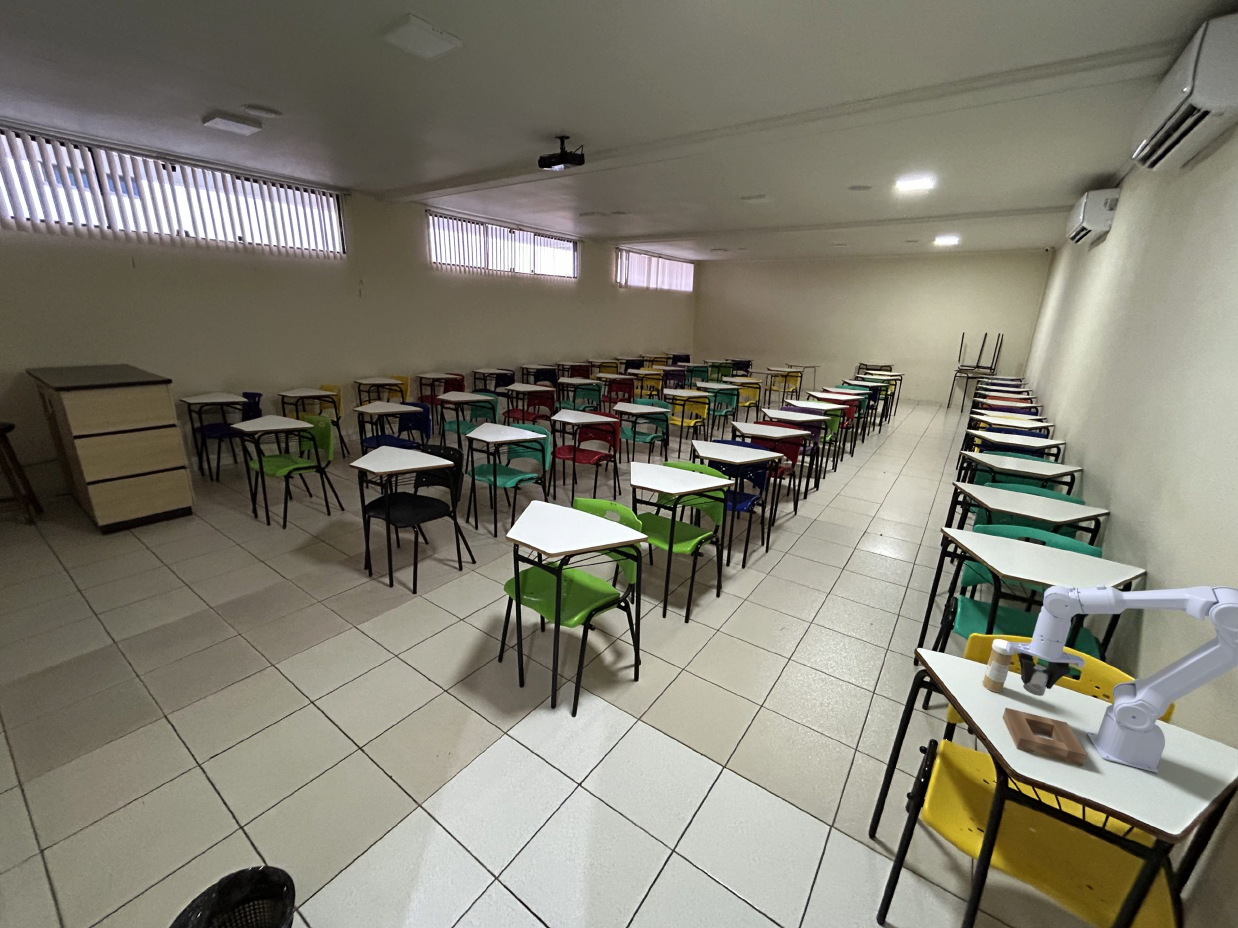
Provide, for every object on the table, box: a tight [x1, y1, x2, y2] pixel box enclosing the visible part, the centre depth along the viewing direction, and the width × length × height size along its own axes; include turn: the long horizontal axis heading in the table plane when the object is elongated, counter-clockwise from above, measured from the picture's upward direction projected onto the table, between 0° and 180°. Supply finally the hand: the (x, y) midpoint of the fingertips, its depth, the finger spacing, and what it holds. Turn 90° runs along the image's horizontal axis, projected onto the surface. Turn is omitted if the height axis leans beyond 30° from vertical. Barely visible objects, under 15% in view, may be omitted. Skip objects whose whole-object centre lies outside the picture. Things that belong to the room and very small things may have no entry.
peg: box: [1022, 663, 1051, 697], centre depth 121 cm, size 4×4×6 cm
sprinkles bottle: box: [982, 638, 1015, 693], centre depth 131 cm, size 5×5×14 cm
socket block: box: [1002, 707, 1088, 767], centre depth 115 cm, size 12×10×3 cm
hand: (1035, 683), depth 121 cm, fingers closed on peg, 4 cm apart
